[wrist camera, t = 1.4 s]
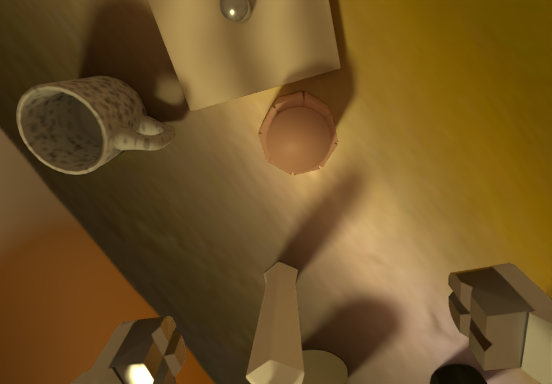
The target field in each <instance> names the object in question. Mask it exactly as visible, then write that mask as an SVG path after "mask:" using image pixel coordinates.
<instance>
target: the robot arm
mask: <svg viewBox="0 0 552 384" xmlns="http://www.w3.org/2000/svg"><path fill="white" fill-rule="evenodd" d="M448 284H449V286H450V287H451V289H452V290H453V292H452V293H451V294H450V296H449V308H450V312H451V316H452V318H453V321H454V323H455V325H456V327H457V328H458V330H459V332H460V333H462V334H464V335H465V336H467V337H469V348H470V349H471V351H472V353H473V354H474V356H475V357H476V359H477V361H478V362H479V364H480V365H481V367H482V369H483V370H484V371H486V370H497V369H509V368H520V367H522V368H521V369H522V370H523V371H525V372H526V373H527V374H529V375H530V376H532V377H533V378H534V379H536V380H537V381H539V382H540V383H541V384H552V299H551V298H550V297H549V296H548V295H546V294H545V293H544V292H543V291H542V290H541V289H540V288H539V287H538V286H537V285H536V284H535V283H533V282H532V281H531V280H530V279H529V278H528V277H527V276H526V275H525V274H524V273H523V272H522V271H520V270H519V269H518V268H517V267H516V266H515V265H513V264H511V263H506V264H500V265H494V266H489V267H483V268H477V269H471V270H465V271H459V272H452V273H450V275H449V283H448ZM175 326H176V324H175V322H174V321H173V319H172V317H169V316H165V317H157V318H149V319H141V320H137V321H128V322H123V323H121V324H120V325H118V327H117V328H116V330H115V331H114V333H113V335H112V336H111V338H110V339H109V341H108V343H107V344H106V346H105V347H104V349H103V351H102V352H101V354H100V356H99V357H98V359H97V360H96V362H95V364H94V365H93V367H92V368H91V370H90V371H87V372H84V373H83V374H82V375H80V376H79V377H78V378H77V379H76V380H74V381H73V382H72V383H71V384H177V383H176V380H175V377H174V376H175V375H176V374H177V373H178V372H179V371H180V370H181V369H182V366H183V363H184V360H185V345H184V341H183V339H182V336H181V335H180V334H178V333H176V332H175V331H174V328H175Z"/></svg>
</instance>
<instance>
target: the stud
mask: <svg viewBox="0 0 552 384" xmlns="http://www.w3.org/2000/svg"><path fill="white" fill-rule="evenodd" d="M220 10H221V12H222V14H223V16H224V17H225V18H227V19H228V20H230V21H233V22H235V23H238V24H243V23H246V22H247V21H248V20H249V19H250V17H251V15H252V7H251V4H250V2H249V1H248V0H220Z"/></svg>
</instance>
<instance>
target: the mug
mask: <svg viewBox="0 0 552 384" xmlns="http://www.w3.org/2000/svg"><path fill="white" fill-rule="evenodd" d="M16 113H17V125H18V129H19V132H20V135H21V137H22V139H23V141H24V143H25V144H26V145H27V147H28V148H29V150H30V151H31V152H32V153H33V154H34V155H35V156H36V157H37V158H38V159H39V160H40V161H42V162H43V163H44V164H46V165H47V166H49V167H51V168H53V169H55V170H57V171H60V172H64V173H67V174H76V175H77V174H86V173H89V172H91V171H93V170H95V169H97V168H98V167H100V166H102V165H103V164H105V163H107V162H108V161H110V160H111V159H113V158H115V157H116V156H118V155H119V154H121V153H123V152H124V151H126V150H131V149H138V150H159V149H161V148H164V147H165V146H167V145H168V144H169V143H170V142H171V141H172V140H173V138H174V136H175V135H176V134H175V130H174V128H173V127H171V126H169V125H166V124H164V123H161V122H159V121H157V120H156V119H154V118H152V117H150V116H147V112H146V108H145V105H144V103H143V101H142V99H141V98H140V96H139V95H138V93H137V92H136V91H135V90H134V89H133V88H132V87H131V86H130V85H128V84H127V83H125V82H124V81H122V80H120V79H117V78H115V77H112V76H104V75H101V76H94V77H87V78H81V79H74V80H67V81H61V82H54V83H47V84H41V85H37V86H34V87H32V88H30V89H29V90H27V91H26V92H25V93H24V94H23V95H22V97H21V99H20V101H19V103H18V107H17V111H16Z"/></svg>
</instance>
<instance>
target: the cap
mask: <svg viewBox="0 0 552 384" xmlns="http://www.w3.org/2000/svg"><path fill="white" fill-rule="evenodd" d="M258 135H259V138H260V141H261V144H262V148H263V151H264V154H265V158H266V160H267V159H269V161H268V162H269V163H271V164H272V165H274V166H276V167H278V168H280V169H281V170H283V171H285V172H287V173H289V174H292V172H293V173H294V175H297V174H301V173H305V172H310V171H314V170H318V169H320V168H319V166H321V167H323V166H324V164H325V163H326V161H327V160H328V158H329V157H330V155H331V154H332V152H333V151H334V149H335V148H336V146H337V143H336V142H338V139H337V134H336V129H335V124H334V119H333V114H332V113H331V111H330V109H329V107H328V106H327V105H326V104H325V103H323V102H322V101H320V100H318V99H317V98H315V97H313V96H312V95H310V94H309V93H307V92H304V93H303V94H302V91H299V92H296V93H292V94H289V95H285V96H281V97H278V98H277V100H274V102H273V104H272V106H271V107H270V109H269V111H268V113H267V115H266V117H265V118H264V120H263V122H262V125H261V127H260V130H259V134H258Z"/></svg>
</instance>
